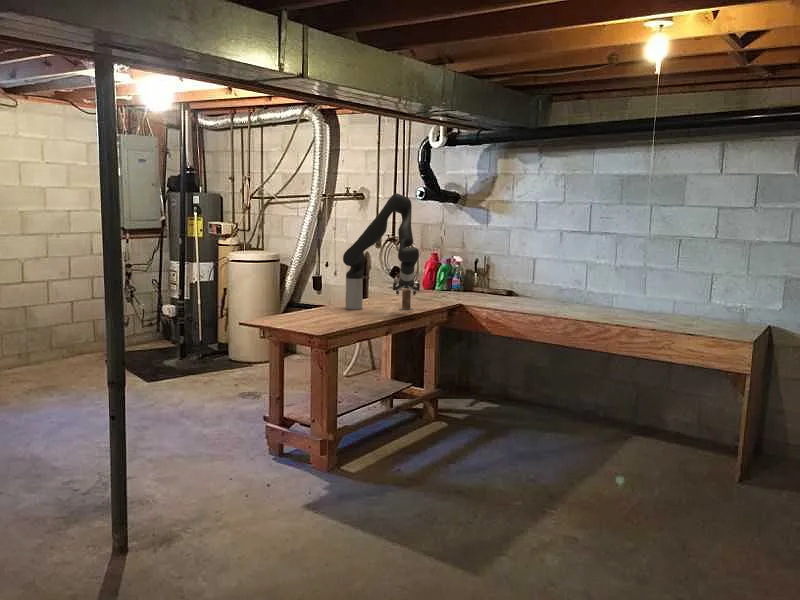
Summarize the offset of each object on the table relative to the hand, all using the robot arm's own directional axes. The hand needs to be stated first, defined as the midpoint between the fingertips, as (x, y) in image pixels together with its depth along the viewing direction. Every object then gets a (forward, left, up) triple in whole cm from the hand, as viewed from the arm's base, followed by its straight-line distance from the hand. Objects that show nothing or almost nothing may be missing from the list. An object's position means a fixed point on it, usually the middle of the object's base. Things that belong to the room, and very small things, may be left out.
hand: (405, 293), depth 361 cm
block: (+1, +10, -10) cm, 14 cm away
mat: (+1, +10, -10) cm, 14 cm away
